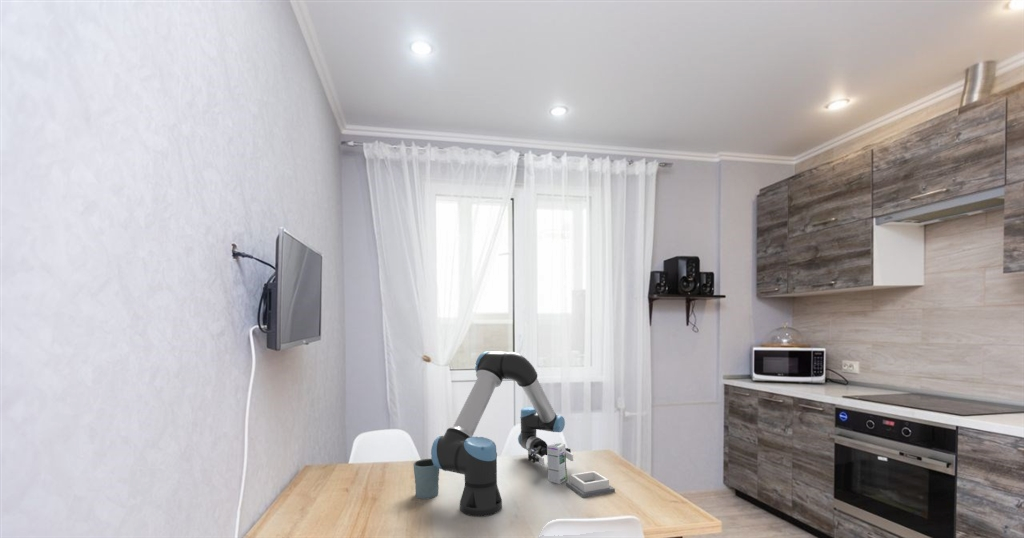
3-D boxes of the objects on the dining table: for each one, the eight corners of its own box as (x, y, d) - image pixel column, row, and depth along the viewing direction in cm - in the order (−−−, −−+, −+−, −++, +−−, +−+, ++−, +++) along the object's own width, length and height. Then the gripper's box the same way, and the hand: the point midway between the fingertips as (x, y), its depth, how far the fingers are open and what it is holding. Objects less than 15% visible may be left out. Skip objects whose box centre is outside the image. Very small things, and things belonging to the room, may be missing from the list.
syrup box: (559, 484, 182) (558, 447, 183) (547, 481, 185) (546, 445, 187) (567, 480, 186) (566, 444, 188) (554, 477, 190) (554, 441, 191)
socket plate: (583, 497, 168) (582, 485, 169) (565, 484, 181) (565, 474, 182) (614, 491, 173) (614, 480, 173) (595, 479, 186) (595, 469, 186)
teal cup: (434, 500, 168) (434, 467, 169) (408, 498, 170) (409, 466, 171) (443, 490, 177) (443, 458, 179) (419, 488, 179) (419, 457, 181)
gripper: (561, 451, 210) (584, 465, 191) (511, 458, 201) (530, 473, 182) (560, 435, 211) (583, 447, 192) (511, 441, 202) (530, 454, 183)
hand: (558, 459), depth 187 cm, fingers open, 13 cm apart
